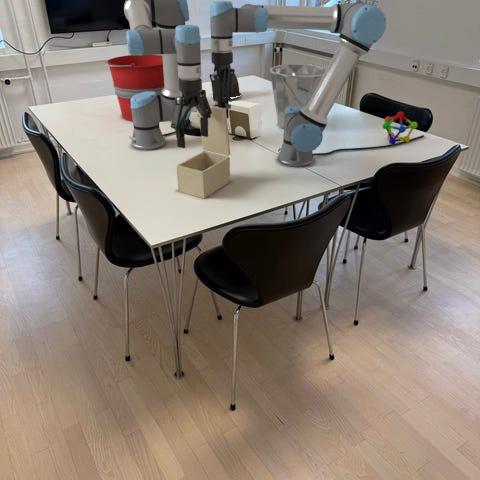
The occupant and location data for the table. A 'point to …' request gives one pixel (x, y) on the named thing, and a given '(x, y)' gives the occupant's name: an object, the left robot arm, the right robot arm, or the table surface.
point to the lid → (217, 131)
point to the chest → (203, 174)
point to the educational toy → (398, 128)
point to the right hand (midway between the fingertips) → (223, 118)
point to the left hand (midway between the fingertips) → (193, 141)
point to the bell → (235, 87)
